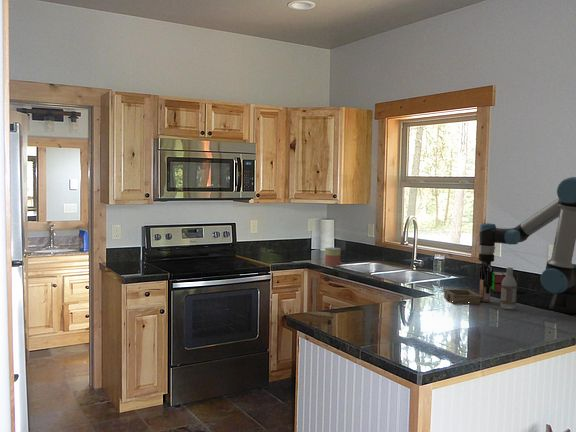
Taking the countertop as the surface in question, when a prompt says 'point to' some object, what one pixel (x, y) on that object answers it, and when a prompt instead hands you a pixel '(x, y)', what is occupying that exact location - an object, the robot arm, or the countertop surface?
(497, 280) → the puzzle cube
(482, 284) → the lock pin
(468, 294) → the brown shallow tray
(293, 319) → the countertop surface
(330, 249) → the canned food
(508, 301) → the bath foam
